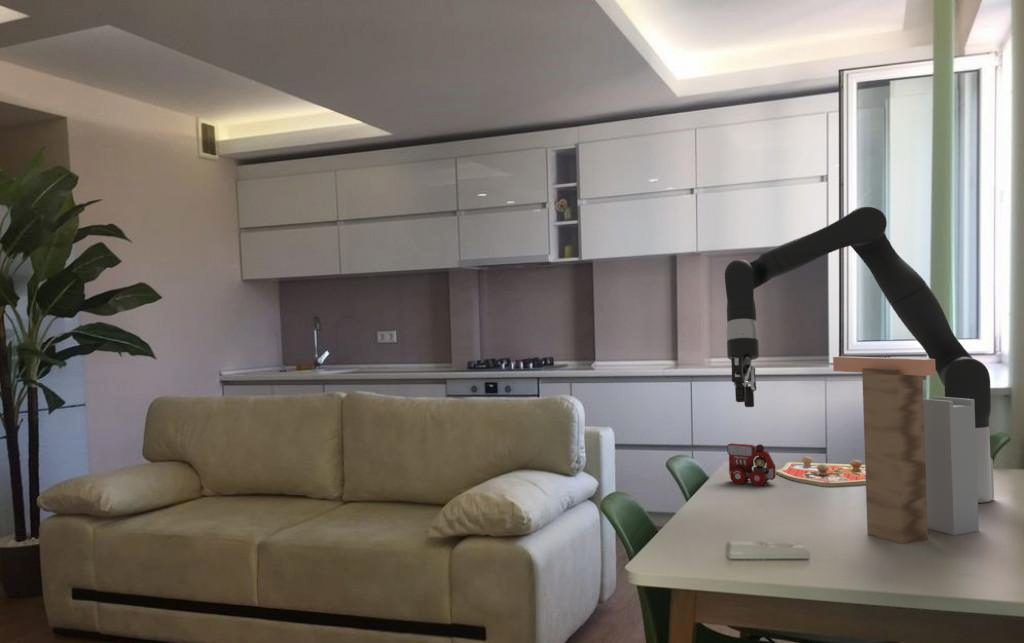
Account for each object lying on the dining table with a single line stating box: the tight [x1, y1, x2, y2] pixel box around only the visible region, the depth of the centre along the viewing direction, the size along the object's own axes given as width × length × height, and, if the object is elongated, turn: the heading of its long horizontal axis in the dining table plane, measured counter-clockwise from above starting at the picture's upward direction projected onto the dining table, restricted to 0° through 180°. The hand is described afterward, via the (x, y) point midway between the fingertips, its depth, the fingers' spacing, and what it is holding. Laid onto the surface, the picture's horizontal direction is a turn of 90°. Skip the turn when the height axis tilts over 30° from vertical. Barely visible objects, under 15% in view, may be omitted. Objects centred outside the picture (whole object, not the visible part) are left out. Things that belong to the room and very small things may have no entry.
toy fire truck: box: [726, 442, 777, 487], centre depth 206 cm, size 7×12×10 cm, turn 58°
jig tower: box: [861, 368, 929, 545], centre depth 152 cm, size 7×8×33 cm
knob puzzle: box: [775, 455, 866, 488], centre depth 212 cm, size 29×30×4 cm
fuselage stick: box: [832, 355, 937, 377], centre depth 154 cm, size 3×22×3 cm, turn 22°
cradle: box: [923, 395, 980, 536], centre depth 157 cm, size 7×9×26 cm
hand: (745, 404), depth 188 cm, fingers open, 8 cm apart
